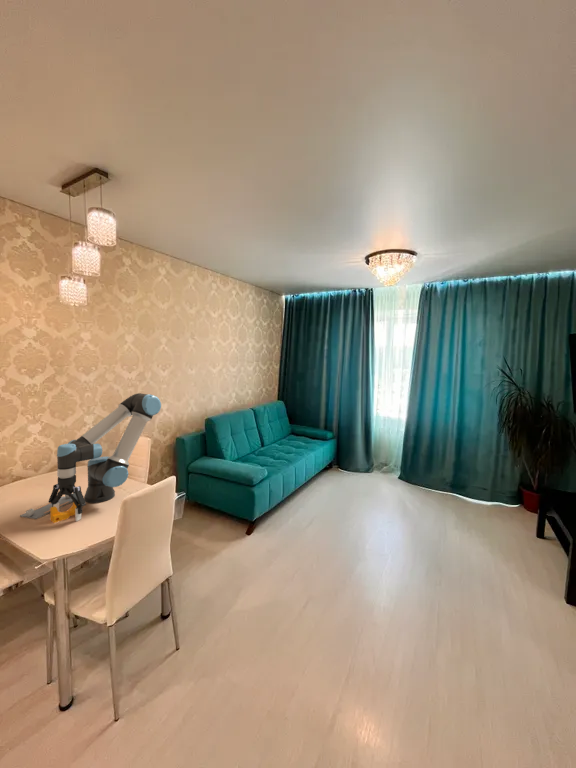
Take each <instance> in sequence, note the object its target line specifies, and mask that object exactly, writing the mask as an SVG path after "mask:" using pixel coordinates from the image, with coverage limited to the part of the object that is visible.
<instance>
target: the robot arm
mask: <svg viewBox="0 0 576 768" xmlns="http://www.w3.org/2000/svg"><path fill="white" fill-rule="evenodd" d="M161 407H162V402H161V400H160V399H159V397H158V396H156V395H153V394H148V393H142V392H141V393H140V392H138V393H134V394H132V395H130V396H129V397H127V398H126V399H124V400H123V401H121V402H120V403H119V404H118V406H117V408H116V409H114V410H113V411H112V412H110V413H109V414H108V415H106V416H105V417H103V419H102V420H100V421H99V422H98V423H96V424H95V425H94V426H92V427H91V428H90V429H89V430H87V431H86V432H85V433H84V434H82V435H81V436H80V437H78V438H77V439H71V440H70V441H69V442H68V443H65V444H64V443H63V444H60V445H59V446H57V450H56V457H57V459H56V460H57V469H56V470H57V483H56V484H54V485H53V486H52V491H51V493H50V497H49V499H48V503H50V502H51V503H52V507H56V508H57V510H58V511H59V512H60V508H59V503H57V502H58V501H59V500H60V498H61V497H63V496H65V495H68V496H69V497H71V499H72V500H73V502H74V503H75V505H76V507H77V508H75V515H74V516H75V517H74V518H75V522H78V521H80V520H82V514H83V507H84V506H86V505H87V503H92V504H95V503H96V504H97V503H101V502H107V501H110V500H112V499H113V498H114V497H115V495H116V491H115V489H114V488H117V487H119V486H122V485H123V484H125V482H126V481H127V480H128V477H129V471H128V468H129V466H130V463H129V460H130V458H131V456H132V454H133V451H134V450H135V447H136V446H137V444H138V441H139V440H140V437H141V436H142V433H143V431H144V429H145V427H146V425H147V423H148V422H149V421H151V420H152V419H153V417H154V416H155V415H157V414H158V413H159V412H160V411H161ZM128 417H131V418H130V420H129V423H128V424H127V427H126V428H125V430H124V433H123V434H122V436H121V438H120V440H119V442H118V444H117V446H116V448H115V450H114V452H113V454H112V455H111V456H102V454H103V446H102V445H101V444H100V443H98V441H99V440H100V439H102V438H103V437H104V436H106V435H107V434H108V433H109V432H110V431H111V430H113V429H114V428H115V427H116V426H117V425H120V423H121V422H123V421H124V420H125V419H126V418H128ZM84 461H87V487H86V490H85V494H84V495H83V492H82V486H80V485H79V486H76V483H77V463H80V462H84ZM73 502H72V503H73Z"/></svg>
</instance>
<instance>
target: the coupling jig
mask: <svg viewBox="0 0 576 768" xmlns="http://www.w3.org/2000/svg"><path fill="white" fill-rule="evenodd" d="M57 503H59V509H61V508H63V507H66V506H67V505H69V504H71V503H73V500H72V499H71V497H69V496H68V495H63V496H62V497H61V498H60V500H59V501H58V502H57ZM51 507H52V503H51V502H50V503H49V502H48V503H45V504H43V505H41V506H38V507H36V508H30V509H27V510H26V511H25V512H24V513H23V514H20V515H19V517H20V518H27V519H33V520H38V519H40V518H42V517H44V516H46V515H48V514H50V508H51Z"/></svg>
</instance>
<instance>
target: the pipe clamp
mask: <svg viewBox="0 0 576 768" xmlns="http://www.w3.org/2000/svg"><path fill="white" fill-rule="evenodd" d="M75 508H77V507H76V505H75V503H74V502H72V505H71V506H70V507H69V508H68V509H66V510H64V511H60V510H59V511H58V510H57V508H56V507H51V508H50V513H49V514H50V516H49V517H50V521H51V522H52V523H53V524H55V523H58V522H61V521H62V522H63V521H64V520H68V519H70V517H73V516H75Z"/></svg>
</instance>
